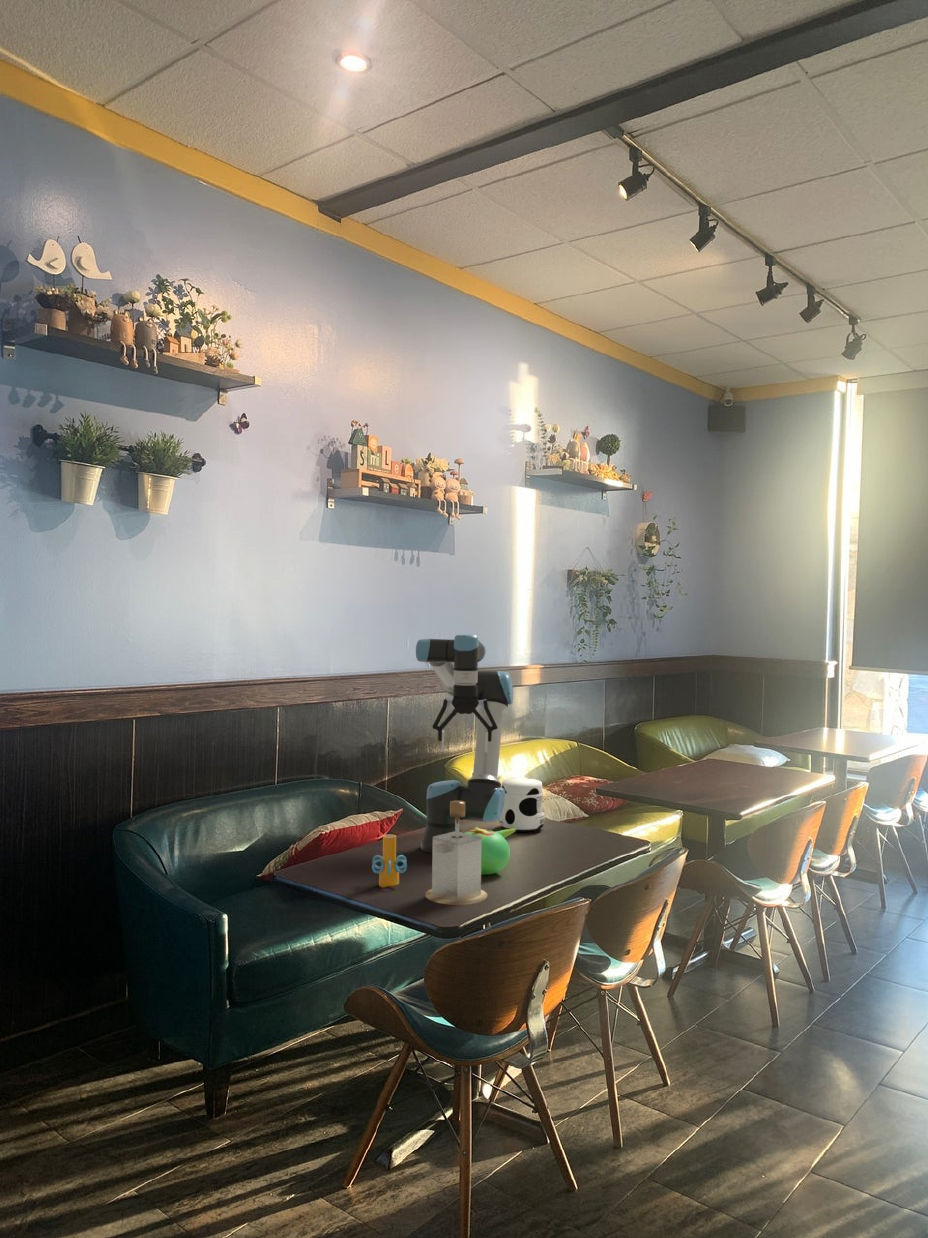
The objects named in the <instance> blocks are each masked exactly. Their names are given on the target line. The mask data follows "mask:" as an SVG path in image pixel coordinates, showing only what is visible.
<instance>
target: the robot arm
mask: <svg viewBox="0 0 928 1238" xmlns="http://www.w3.org/2000/svg"><path fill="white" fill-rule="evenodd" d="M486 650H487V649H486V646H485V644H484V643H483V642H482V641H480V640H479V637H478V636H477V635H476V634H456V635H455V636H454V639H445V638H444V639H442V638H441V639H438V638H421V639H418V640H417V643H416V645H415V657H416V658H415V659H416V660H417V661H418V662H420V663H429V665H430V666H431V667H432V669H433V670H434V671H433V672H435V673H436V675H437V676H438V678H439V679H440V686H442V689H443V690H444V691H445V692H446V693H447V694H449V695H450V696H451V697H453V698H452V699H446V698H444V699H443V701H442V707H441V709H440V710H439V713H438V714H437V716H436V718H435V720H434V722H433V724H432V729H433V730H436V731H437V740H438V742H441V753H445V730H444V728H446V726H447V725H448V724H449V723H450V722H451V720H452V719H453V718H454V717H455V716H456V715H457V714H460V715H464V714H465V715H471V714H474V715H475V716H476V718H477V719H478V720H477V730H476V739H475V740H476V741H475V750H474V759H473V760H474V762H473V770H472V776H470V777H469V778H468V779H467V785H462V783H461V781H460V780H455V779H452V780H450V779H449V780H442V781H441V780H440V781H436V782H433V783H431V784H429V785H428V786H427V788H426V789H427V790H426V797H425V799H426V819H425V820H426V825H425V826H426V827H425V830H424V833H423V837H422V839H421V842H420V850H422V852H425V853H428V854H433V837H434V836H438V835H442V834H446V833H450V832H454V831H455V817H450V802H451V801H464V802H465V817H461V818H460V820H459V832H462V830H461V821H470V822H471V821H473V822H482V823H489V822H490V823H491V822H492V823H493V822H497V821H499V818H500V816H501V814H502V811H503V807H504V802H505V790H504V788H502V782H500V779H498V773H499V763H500V762H499V761H500V760H499V759H500V754H501V753H500V750H501V741H502V731H503V730H502V728H503V717H504V713H505V712H507V711H508V709H509V706H510V705H513V703H514V690H513V687H514V686H513V682H512V676H511V674H510V673H509V672H507V671H500V670H479V667H478V666H479V663H480V662H481V661H482V660H483V659H484V658H485V656H486V652H487V651H486ZM450 705H452V706H453V709H452V711H451V712H450V714H449V715H448V716H447V717H446V718H445V719H443V721H442V722H441V724H440V721H441V720H442V718H443V716H444V715H445V712H446V710H447V707H450ZM439 724H440V725H439Z"/></svg>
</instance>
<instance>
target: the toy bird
mask: <svg viewBox="0 0 928 1238" xmlns="http://www.w3.org/2000/svg"><path fill="white" fill-rule="evenodd" d="M515 832H516V829H503V830H502V829H501V830H497V831H494V830H493V829H492V830H491V829H486V828H480V827H478V826H475V827H474V828H473V829H470V830H467V831H465V832H464V833H467V834H471V835H475V836H480V837H482V844H481V876H485V875H486V876H487V875H488V876H489V875H494V874H496V873H499V872H500V871H502V870H503V869H505V867H506V866H507V864H508V862H509V860H510V857H511V850H510V844H509V842H508V841H507V839H506V838H507V837H508V836H510V835H512V834H513V833H515Z"/></svg>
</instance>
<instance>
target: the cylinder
mask: <svg viewBox="0 0 928 1238" xmlns="http://www.w3.org/2000/svg"><path fill="white" fill-rule="evenodd" d="M371 861H372V865H371V869H372V871H373V873H375V874H378V886H379V887H380V888H382V889H383V888H387V887H394V886H398V885H399V884H400V874H403V873H405V872H406V871H407V868H408V864H407V861H408V860H407V857H406V856H405V855H403V854H400V855H397V834H389V833H388V834H384V835H382V855H380V854H376V855H374V856H373V857H372V859H371ZM377 863H381V865H380V866H378V865H377ZM398 863H402V865H401V866H399V865H398Z"/></svg>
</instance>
